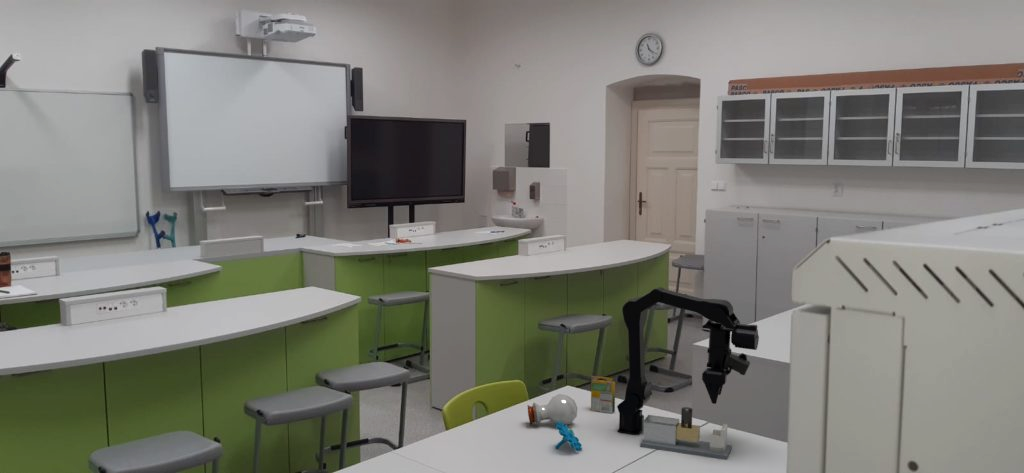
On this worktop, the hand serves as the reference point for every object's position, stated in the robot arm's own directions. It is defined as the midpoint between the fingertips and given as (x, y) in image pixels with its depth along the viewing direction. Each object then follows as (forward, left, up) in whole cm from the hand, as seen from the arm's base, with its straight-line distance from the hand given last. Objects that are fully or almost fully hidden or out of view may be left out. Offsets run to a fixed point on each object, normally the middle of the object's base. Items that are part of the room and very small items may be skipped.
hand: (716, 399), depth 225 cm
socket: (+2, -6, -13) cm, 15 cm away
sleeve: (-14, -6, -13) cm, 20 cm away
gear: (-37, -20, -14) cm, 44 cm away
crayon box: (-38, +17, -14) cm, 44 cm away
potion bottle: (-48, -3, -14) cm, 50 cm away
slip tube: (-11, -6, -11) cm, 16 cm away
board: (-7, -6, -13) cm, 16 cm away
